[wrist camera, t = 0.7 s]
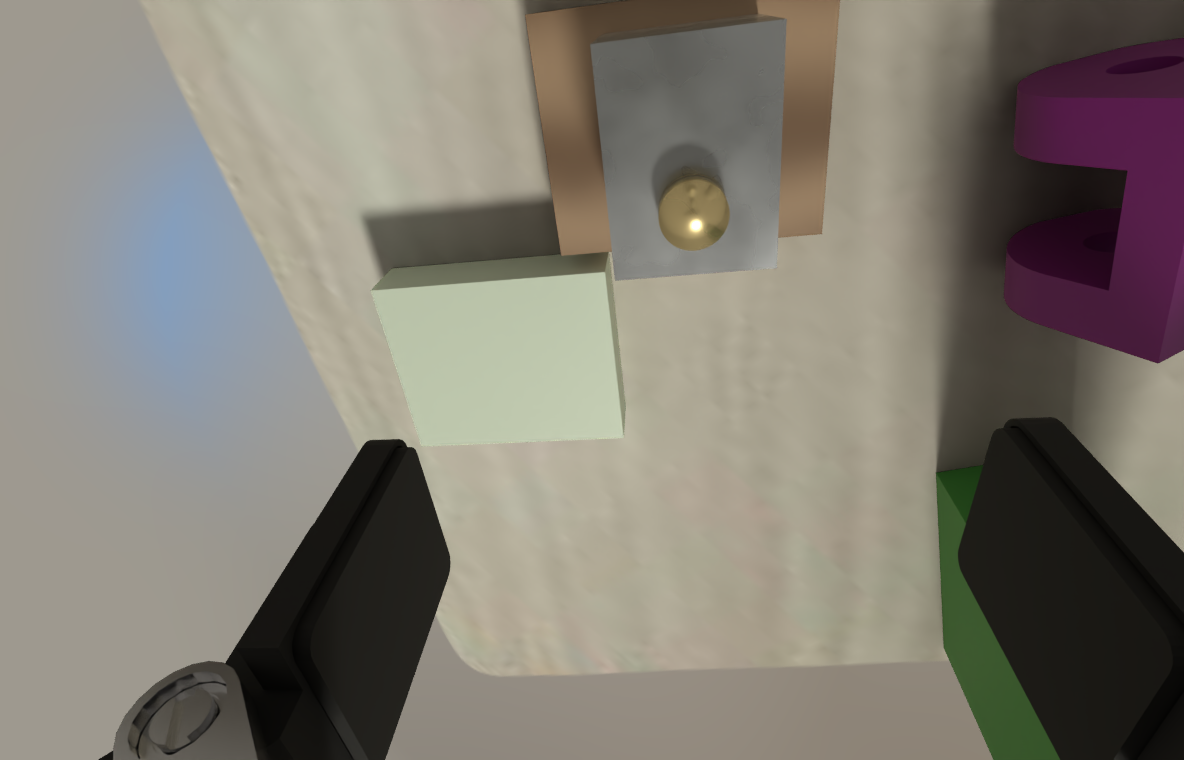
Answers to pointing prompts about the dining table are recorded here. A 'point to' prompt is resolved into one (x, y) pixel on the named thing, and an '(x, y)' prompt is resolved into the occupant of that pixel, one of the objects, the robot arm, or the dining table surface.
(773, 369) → the dining table surface
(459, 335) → the stand
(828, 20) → the stand
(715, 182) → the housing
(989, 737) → the hardback book
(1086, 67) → the mounting bracket
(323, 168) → the dining table surface
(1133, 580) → the robot arm
